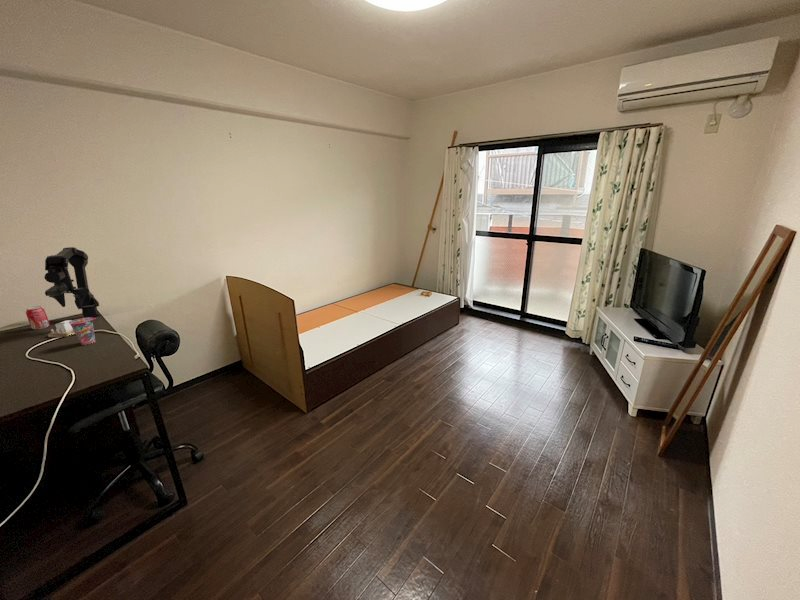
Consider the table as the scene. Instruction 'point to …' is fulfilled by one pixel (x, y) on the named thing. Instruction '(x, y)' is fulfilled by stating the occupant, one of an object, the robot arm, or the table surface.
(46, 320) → the soda can
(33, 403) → the table surface
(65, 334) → the light brown u-shaped piece
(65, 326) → the block
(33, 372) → the table surface
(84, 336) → the cup
